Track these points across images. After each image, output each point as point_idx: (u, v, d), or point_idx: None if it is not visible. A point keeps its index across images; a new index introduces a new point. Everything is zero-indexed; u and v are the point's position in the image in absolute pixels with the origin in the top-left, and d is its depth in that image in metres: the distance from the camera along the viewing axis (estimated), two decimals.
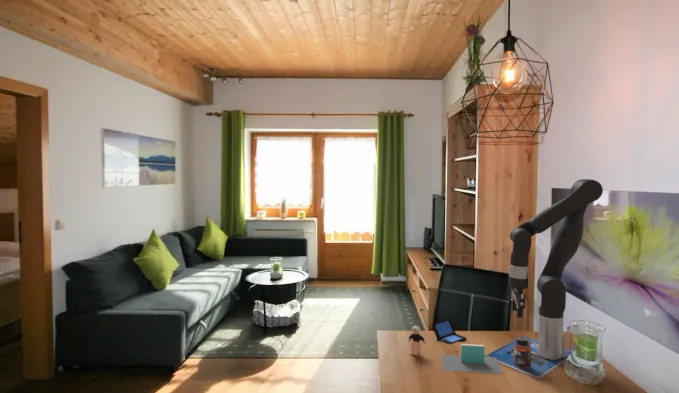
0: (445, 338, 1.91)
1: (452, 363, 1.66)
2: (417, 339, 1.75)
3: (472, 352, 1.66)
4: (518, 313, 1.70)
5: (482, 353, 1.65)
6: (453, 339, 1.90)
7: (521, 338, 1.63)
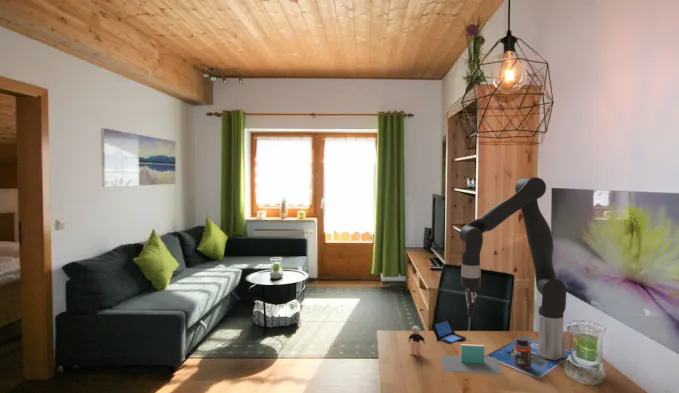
0: (445, 338, 1.91)
1: (452, 363, 1.66)
2: (417, 339, 1.75)
3: (472, 352, 1.66)
4: (469, 313, 1.70)
5: (482, 353, 1.65)
6: (453, 339, 1.90)
7: (521, 338, 1.63)
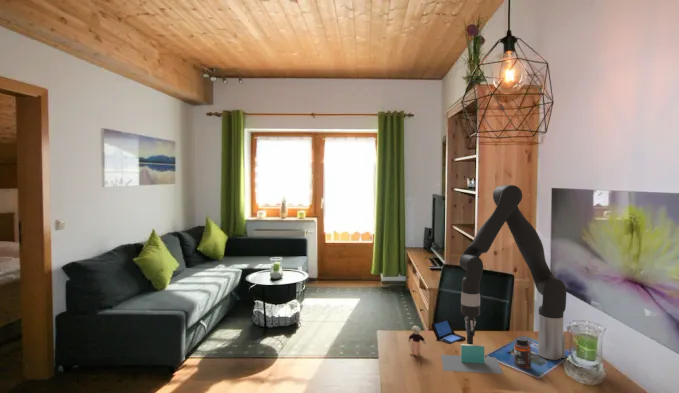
0: (444, 338, 1.91)
1: (452, 363, 1.66)
2: (417, 339, 1.75)
3: (472, 352, 1.66)
4: (468, 340, 1.71)
5: (482, 353, 1.65)
6: (453, 338, 1.90)
7: (521, 338, 1.63)
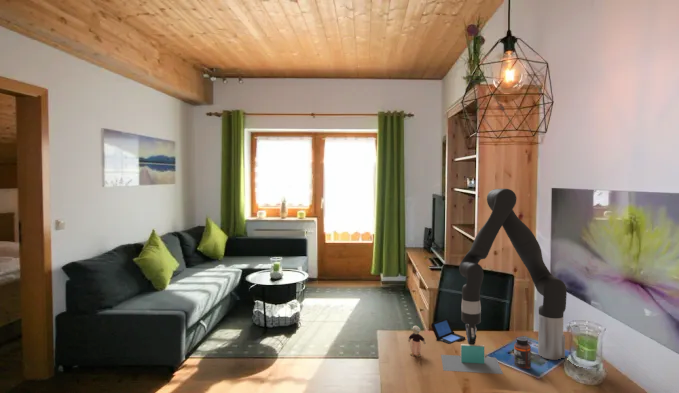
0: (444, 338, 1.91)
1: (452, 363, 1.66)
2: (417, 339, 1.75)
3: (472, 352, 1.66)
4: None
5: (482, 353, 1.65)
6: (452, 338, 1.90)
7: (521, 338, 1.63)
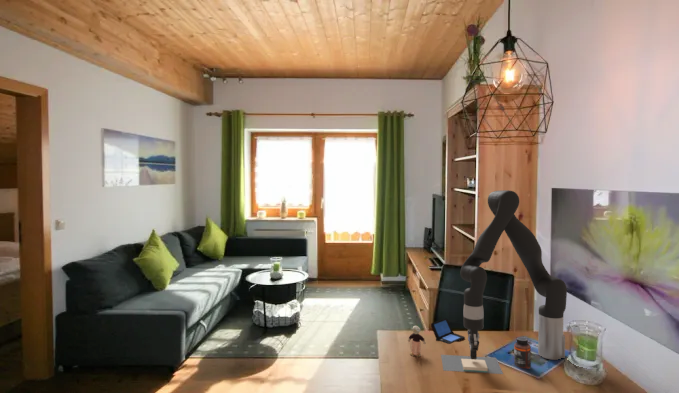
0: (444, 338, 1.91)
1: (452, 363, 1.66)
2: (417, 339, 1.75)
3: None
4: (471, 355, 1.63)
5: None
6: (452, 338, 1.90)
7: (521, 338, 1.63)
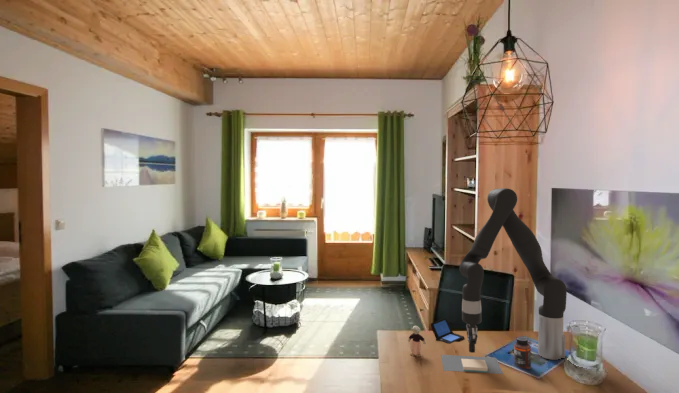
0: (444, 337, 1.91)
1: (452, 363, 1.66)
2: (417, 339, 1.75)
3: None
4: (470, 348, 1.69)
5: None
6: (452, 338, 1.90)
7: (521, 338, 1.63)
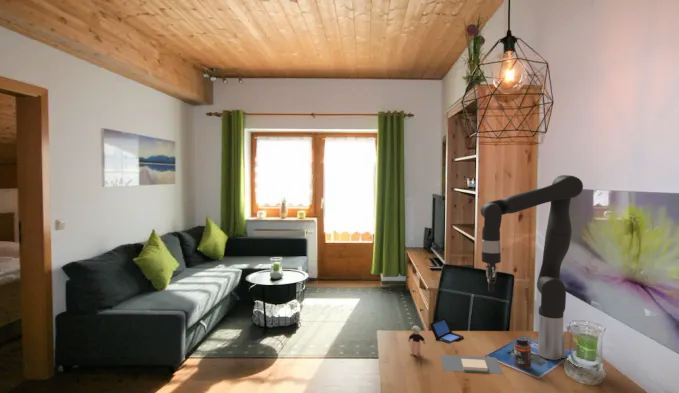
0: (443, 337, 1.91)
1: (452, 363, 1.66)
2: (417, 339, 1.75)
3: None
4: (489, 288, 1.73)
5: None
6: (451, 338, 1.91)
7: (521, 338, 1.63)
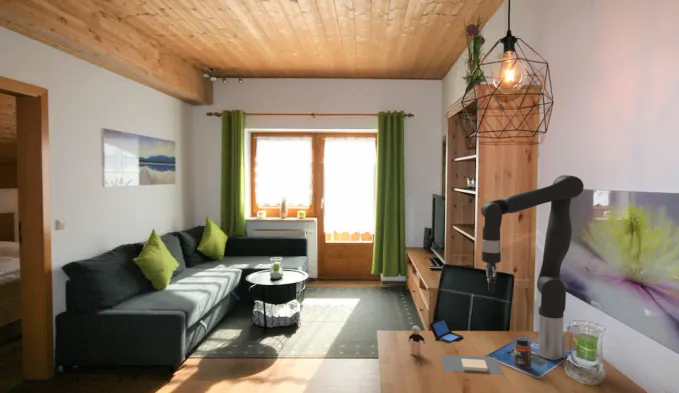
0: (443, 337, 1.92)
1: (452, 363, 1.66)
2: (417, 339, 1.75)
3: None
4: (489, 287, 1.73)
5: None
6: (451, 338, 1.91)
7: (521, 338, 1.63)
